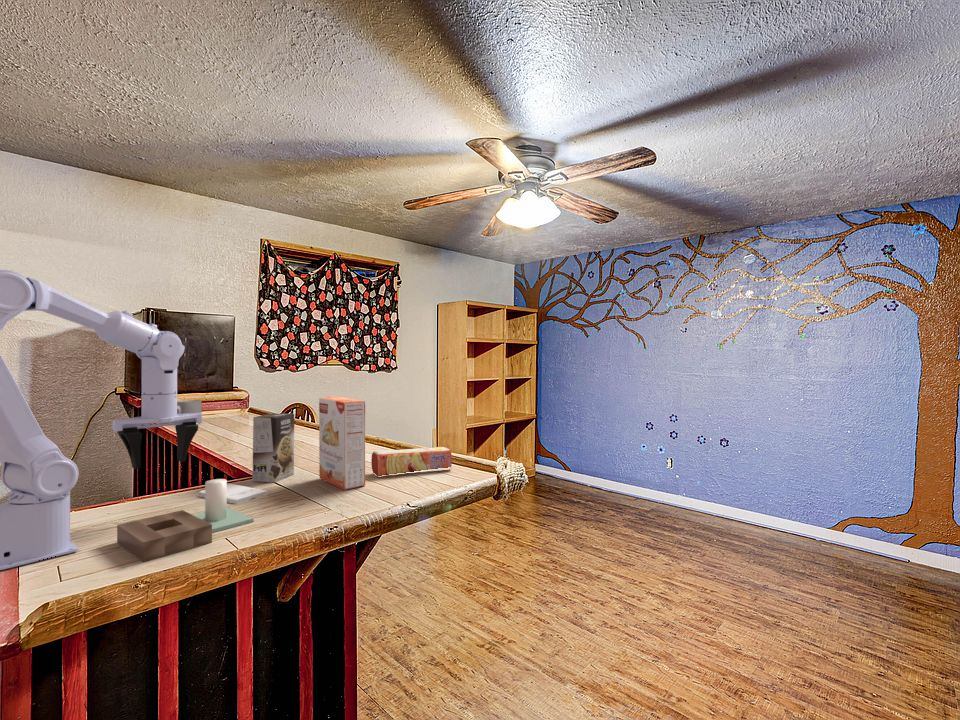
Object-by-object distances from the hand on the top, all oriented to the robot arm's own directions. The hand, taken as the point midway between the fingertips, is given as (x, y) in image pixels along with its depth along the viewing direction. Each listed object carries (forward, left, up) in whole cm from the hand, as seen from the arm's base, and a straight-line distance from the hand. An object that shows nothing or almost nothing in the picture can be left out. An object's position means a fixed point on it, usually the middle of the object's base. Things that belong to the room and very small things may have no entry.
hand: (159, 464), depth 94 cm
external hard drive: (+16, +4, -11) cm, 20 cm away
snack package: (+57, -11, -11) cm, 59 cm away
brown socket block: (-4, -14, -10) cm, 18 cm away
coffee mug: (+53, +127, -11) cm, 138 cm away
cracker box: (+38, -5, -11) cm, 40 cm away
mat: (+6, -10, -10) cm, 16 cm away
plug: (+6, -10, -10) cm, 15 cm away
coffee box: (+30, +12, -11) cm, 34 cm away
